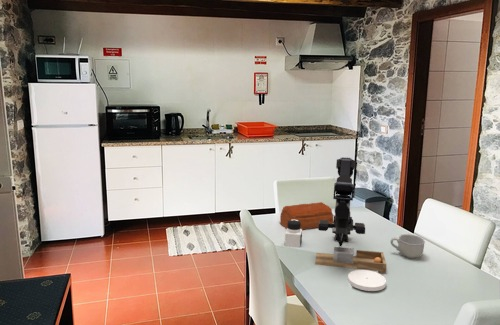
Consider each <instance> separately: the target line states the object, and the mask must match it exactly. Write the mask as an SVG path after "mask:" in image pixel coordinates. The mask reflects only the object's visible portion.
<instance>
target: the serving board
mask: <svg viewBox="0 0 500 325" xmlns="http://www.w3.org/2000/svg"><path fill="white" fill-rule="evenodd" d="M355 252H356V253H355V255H353V264H342V263H333V262H334V253H324V252H316V253H315V262H314V265H315V266H326V267H335V268H346V269H355V270H369V271H374V272H377V273H378V274H381V275H382V274H385V275H386V274H387V273H386V272H387V262H386V258H385V254H384V252H383V251H373V250H371V251H369V250H361V249H356V250H355ZM376 257H379V258H381V260H382V262H381V263H376V262H374V259H375V258H376Z"/></svg>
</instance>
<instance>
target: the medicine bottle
mask: <svg viewBox="0 0 500 325" xmlns="http://www.w3.org/2000/svg"><path fill="white" fill-rule="evenodd" d="M300 228H301V222H300V221H298V220H289V221H288V222H287V229H285V234H284V246H285V247H293V248H294V247H295V248H301V247H302V239H303V230H302V229H300Z"/></svg>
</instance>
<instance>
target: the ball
mask: <svg viewBox="0 0 500 325" xmlns="http://www.w3.org/2000/svg"><path fill="white" fill-rule="evenodd" d="M374 262H376V263H381V262H382V260H381V258H379V257H376V258H375V259H374Z"/></svg>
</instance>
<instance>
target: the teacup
mask: <svg viewBox="0 0 500 325" xmlns="http://www.w3.org/2000/svg"><path fill="white" fill-rule="evenodd" d="M394 241H396V242H397V244H398V246H397V245H396V244H395V243H394ZM425 244H426V240H425V239H424V238H423V237H422V236H419V235H415V234H412V233H411V234H410V233H404V234H400V235H399V237H396V236H394V237H392V238H391V239H390V245H391V246H392V247H393V248H395V249H396V251H397V252H399V254H401V255H402V256H403V257H404V258H407V259H417V258H419V257H421V256H422V255H423V253H424V248H425Z"/></svg>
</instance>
